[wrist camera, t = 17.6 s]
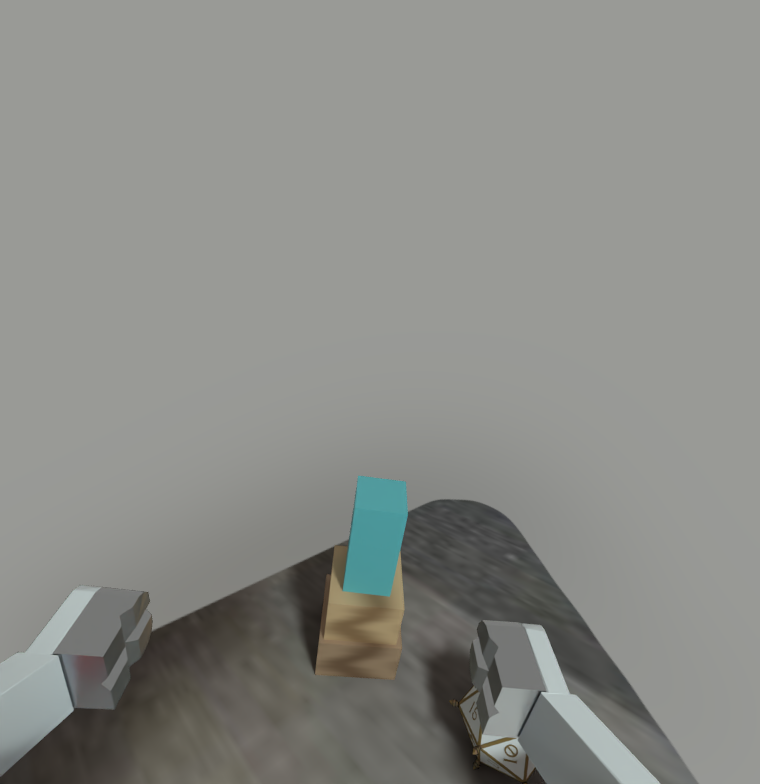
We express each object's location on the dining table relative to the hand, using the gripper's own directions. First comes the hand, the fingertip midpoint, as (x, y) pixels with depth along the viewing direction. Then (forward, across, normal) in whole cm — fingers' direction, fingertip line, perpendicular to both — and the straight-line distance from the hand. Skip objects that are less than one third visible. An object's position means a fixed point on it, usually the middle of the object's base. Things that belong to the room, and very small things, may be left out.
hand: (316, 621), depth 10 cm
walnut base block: (+23, -4, +34) cm, 42 cm away
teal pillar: (+23, -4, +24) cm, 34 cm away
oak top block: (+23, -4, +29) cm, 37 cm away
